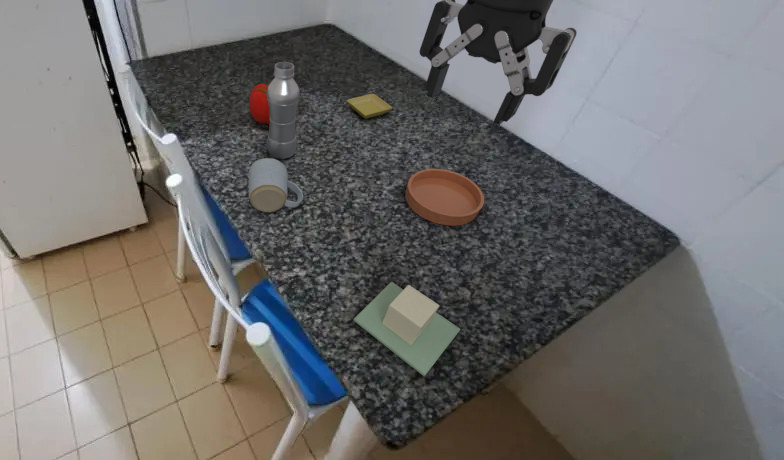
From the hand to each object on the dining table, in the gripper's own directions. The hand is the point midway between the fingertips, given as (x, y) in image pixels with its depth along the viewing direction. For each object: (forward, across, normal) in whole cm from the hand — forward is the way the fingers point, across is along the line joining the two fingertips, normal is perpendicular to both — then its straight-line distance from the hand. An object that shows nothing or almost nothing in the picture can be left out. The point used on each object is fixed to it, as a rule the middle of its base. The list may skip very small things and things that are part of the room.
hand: (464, 107), depth 47 cm
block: (+28, +7, -12) cm, 31 cm away
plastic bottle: (+28, -36, +6) cm, 46 cm away
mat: (+28, +8, -12) cm, 31 cm away
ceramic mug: (+28, -26, -6) cm, 39 cm away
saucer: (+28, -34, +36) cm, 57 cm away
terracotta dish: (+28, -3, +18) cm, 34 cm away
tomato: (+28, -48, +14) cm, 57 cm away
